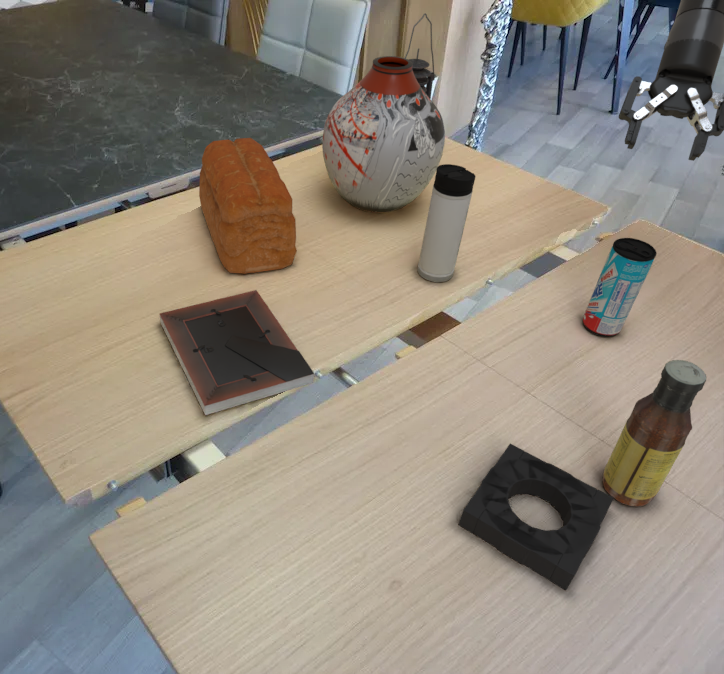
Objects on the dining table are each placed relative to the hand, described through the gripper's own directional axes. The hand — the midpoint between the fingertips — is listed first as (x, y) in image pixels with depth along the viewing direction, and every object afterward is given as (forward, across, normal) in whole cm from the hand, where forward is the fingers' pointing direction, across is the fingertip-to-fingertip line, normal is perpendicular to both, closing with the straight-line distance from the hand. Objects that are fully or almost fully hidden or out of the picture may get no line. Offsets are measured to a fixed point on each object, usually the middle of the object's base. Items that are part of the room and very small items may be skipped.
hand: (661, 152), depth 99 cm
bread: (+26, -64, +10) cm, 70 cm away
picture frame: (+48, -51, -12) cm, 71 cm away
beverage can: (+26, 0, +10) cm, 28 cm away
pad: (+56, -5, -20) cm, 60 cm away
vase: (+10, -45, +26) cm, 53 cm away
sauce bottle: (+49, +5, -14) cm, 51 cm away
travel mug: (+24, -28, +12) cm, 39 cm away
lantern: (-9, -47, +45) cm, 65 cm away
